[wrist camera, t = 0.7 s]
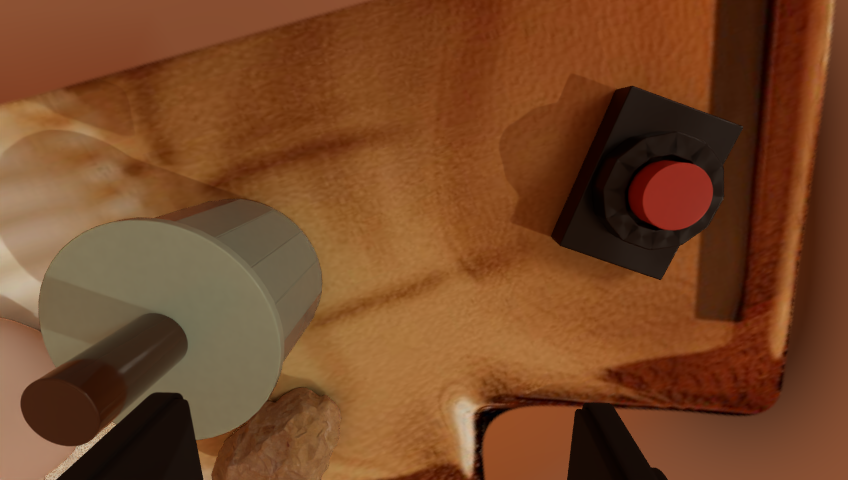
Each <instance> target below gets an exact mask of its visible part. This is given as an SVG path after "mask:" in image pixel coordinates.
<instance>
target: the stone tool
mask: <svg viewBox="0 0 848 480" xmlns="http://www.w3.org/2000/svg"><path fill="white" fill-rule="evenodd" d="M340 421H341V415H340V409H339V408H338V407H337V405H336V403H335V402H334V401H333V400H331V399H330V398H329V397H328V396H327V395H322V396H320V397H319V396H318V395H317V394H315V393H314V392H313V391H311V390H309V389H307V388H304V387H303V388H296V389H294V390H292V391H290V392H289V393H287V394H284V395H283V396H282V397H281V398H280V399H279V400H278V401H277V402H276V403H274V402H271V401H266V402H265V403H264V405H263V406H262V407H261V409H260V410H259V411H258V412H257V413H256V414H255V415H254V416H252V417H251V419H250V420H249V421H248V422H247V424H246V425H244V426H241V427H240V428H239V430H238V431H237V432H235V433H234V434H233V435H232V436H231V437H230V438H228V439H227V440H225V441H224V445H223V447H222V449H221V450H220V451H219V454H218V457H217V459H216V462H215V465H214V468H213V471H212V475H211V476H212V480H321V477H322V475H323V473H324V472H325V471H326V470H327V468H328V467H329V459H330V457H331V454H332V452H333V449H334V448H335V447H336V446H337V442H338V440H339V436H340V431H339V429H340V428H339V423H340Z"/></svg>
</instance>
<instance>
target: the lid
mask: <svg viewBox="0 0 848 480" xmlns="http://www.w3.org/2000/svg"><path fill="white" fill-rule="evenodd" d="M39 323H40V330H41V333H42V337H43V341H44V344H45V347H46V349H47V351H48V354H49V356H50V358H51V360H52V362H53V364H54V365H55V367H56V368H55V369H53V370H52V371H50V372H48V373H47V374H45V375H43V376H42V377H40V378H39V379H37V380H35V381H34V382H32V383H31V384H29V385H28V386H27V387H26V389H25V390H24V392H23V393H22V396H21V400H20V407H21V412H22V415H23V417H24V419H25V421H26V423H27V424H28V425H29V427H30V428H31V429H32V430H33V431H34V432H35V433H36V434H38V435H39V436H40V437H42V438H43V439H45V440H47V441H49V442H51V443H54V444H57V445H61V446H79V445H82V444H85V443H87V442H89V441H90V440H92V439H93V438H94V437H95V436H96V435H98V434H99V433H100V432H101V431H102V430H103V429H104V428H106V427H107V426H108V425H109V424H110V423H111V422H114V423H115V424H118V423H119V422H120V421H121V420H122V419H124V418H125V417H126V416H127V415H128V414H129V413H130V412H131V411H132V410H133V409H135V408H136V407H137V406H138V405H139V404H140V403H141V402H142V401H143V400H144V399H145V398H147V397H148V396H149V395H150V394H152V393H155V392H171V393H180V394H181V395H182V396H183V399H185V400H187V401H188V403H189V406H190V412H191V417H192V422H193V428H194V433H195V438H196V440H202V439H207V438H212V437H215V436H218V435H221V434H224V433H227V432H229V431H231V430H233V429H235V428H237V427H239V426H240V425H242V424H243V423H245V422H246V421H248V420H249V419H250V418H251V417H252V416H254V415H255V414H256V413H257V412H258V411H259V410H260V409H261V407H262V406H263V405H264V403H265V402H266V401H267V399H268V398H269V396H270V395H271V393H272V391H273V389H274V388H275V386H276V384H277V382H278V379H279V376H280V373H281V370H282V365H283V360H284V334H283V327H282V323H281V319H280V315H279V312H278V310H277V307H276V305H275V302H274V300H273V298H272V296H271V294H270V293H269V291H268V289H267V287H266V286H265V284H264V283H263V281H262V280H261V279H260V277H259V276H258V274H257V273H256V272H255V271H254V270H253V269H252V267H251V266H250V265H249V264H248V263H247V262H246V261H245V260H244V259H243V258H242V257H241V256H239V255H238V254H237V253H236V252H235V251H234V250H233V249H231V248H230V247H228V246H227V245H225V244H224V243H223V242H221V241H220V240H218V239H216V238H214V237H213V236H211V235H209V234H207V233H205V232H203V231H201V230H198V229H196V228H193V227H191V226H188V225H186V224H182V223H178V222H174V221H171V220H164V219H157V218H130V219H122V220H117V221H114V222H110V223H106V224H103V225H99V226H96V227H94V228H92V229H90V230H87V231H85V232H83V233H82V234H80V235H79V236H77V237H76V238H74V239H72V240H71V241H70V242H69V243H68V244H67V245H66V246H65V247H63V248H62V249H61V250H60V251H59V253H58V254H57V255H56V257H55V258H54V259H53V261H52V262H51V264H50V266H49V268H48V270H47V271H46V273H45V276H44V279H43V282H42V285H41V289H40V295H39Z"/></svg>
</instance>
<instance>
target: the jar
mask: <svg viewBox="0 0 848 480" xmlns="http://www.w3.org/2000/svg"><path fill="white" fill-rule="evenodd" d="M155 218H157V219H164V220H171V221H174V222H178V223H182V224H186V225H188V226H191V227H193V228H196V229H198V230H201V231H203V232H205V233H207V234H209V235H211V236H213V237H214V238H216V239H218V240H220V241H221V242H223V243H224V244H225V245H227V246H228V247H230V248H231V249H233V250H234V251H235V252H236V253H237V254H238V255H239V256H241V257H242V258H243V259H244V260H245V261H246V262H247V263H248V264H249V265H250V266H251V267H252V269H253V270H254V271H255V272H256V273H257V274H258V276H259V277H260V279H261V280H262V281H263V283H264V284H265V286H266V287H267V289H268V291H269V293H270V294H271V296H272V298H273V300H274V302H275V305H276V307H277V310H278V312H279V315H280V319H281V323H282V327H283V334H284V360H285V359H286V357H287V356H288V354H289V353H290V352H291V350H292V349H293V347H294V346H295V344H296V343H297V341H298V340H299V338H300V337H301V335H302V334H303V332H304V331H305V329H306V328H307V327H308V325H309V324H310V322H311V321H312V319H313V317H314V315H315V312H316V310H317V307H318V304H319V302H320V297H321V292H322V274H321V269H320V264H319V261H318V258H317V255H316V253H315V251H314V249H313V247H312V245H311V243H310V241H309V240H308V238H307V237H306V235H305V234H304V233H303V232H302V231H301V230H300V228H299V227H298V226H297V225H296V224H295V223H293V222H292V221H291V220H290V219H289V218H287V217H286V216H285V215H283V214H282V213H280V212H279V211H277V210H275V209H273V208H271V207H269V206H266V205H264V204H262V203H258V202H254V201H251V200H244V199H224V200H218V201H208V202H205V203H202V204H198V205H195V206H192V207H188V208H185V209H182V210H179V211H175V212H172V213H169V214H165V215H162V216H159V217H155ZM284 360H283V362H284Z"/></svg>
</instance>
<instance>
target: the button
mask: <svg viewBox="0 0 848 480" xmlns="http://www.w3.org/2000/svg"><path fill="white" fill-rule="evenodd" d="M712 196H713V187H712V182H711V180H710V178H709V176H708V175H707V173H706V172H705V171H704V170H703V169H702V168H700V167H698V166H696V165H694V164H691V163H684V162H677V161H669V160H662V161H657V162H653V163H651V164H649V165H647V166H645V167H644V168H642V169H641V170H640V171H639V172H638V173H637V174H636V175H635V177H634V178H633V180H632V182H631V184H630V186H629V190H628V203H629V206H630V208H631V210H632V212H633V213H634V214H635V215H636V216H637V217H638V218H639V219H641V220H642V221H645V222H647V223H649V224H651V225H654V226H656V227H658V228H661V229H664V230H680V229H684V228H686V227H689V226H691V225H693V224H694V223H696V222H697V221H698V220H699V219H700V218H701V217H702V216H703V215H704V214H705V213H706V211H707V210H708V208H709V206H710V204H711V201H712Z"/></svg>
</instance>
